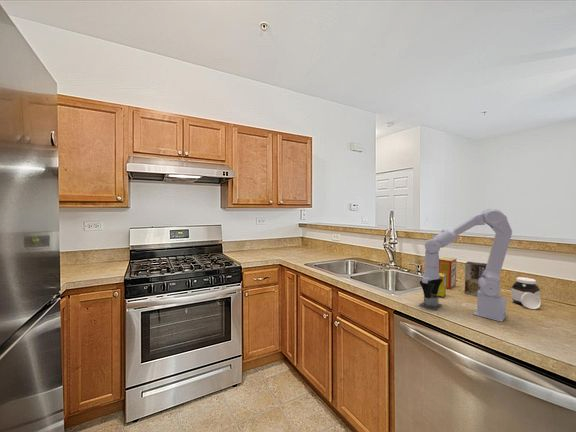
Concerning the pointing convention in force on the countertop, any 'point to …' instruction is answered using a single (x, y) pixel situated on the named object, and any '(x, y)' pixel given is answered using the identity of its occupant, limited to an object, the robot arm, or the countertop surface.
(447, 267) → the baking soda box
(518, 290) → the spread jar
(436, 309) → the square base with peg
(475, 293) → the coffee box
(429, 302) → the octagonal tube
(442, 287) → the supplement box
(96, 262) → the countertop surface
